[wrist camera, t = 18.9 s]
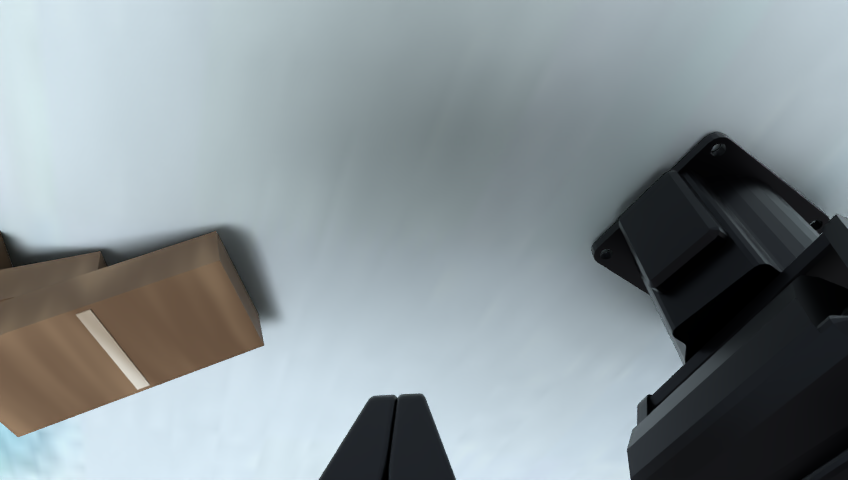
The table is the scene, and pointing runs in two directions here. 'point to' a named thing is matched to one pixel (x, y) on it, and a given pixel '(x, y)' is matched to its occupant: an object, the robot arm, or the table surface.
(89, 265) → the tile
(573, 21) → the table surface
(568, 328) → the table surface
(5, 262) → the tile
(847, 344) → the robot arm
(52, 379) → the tile
